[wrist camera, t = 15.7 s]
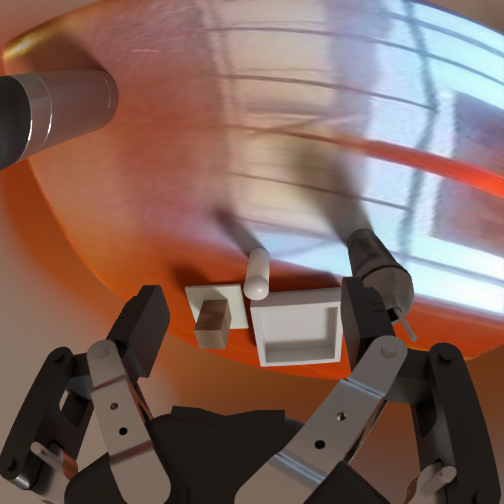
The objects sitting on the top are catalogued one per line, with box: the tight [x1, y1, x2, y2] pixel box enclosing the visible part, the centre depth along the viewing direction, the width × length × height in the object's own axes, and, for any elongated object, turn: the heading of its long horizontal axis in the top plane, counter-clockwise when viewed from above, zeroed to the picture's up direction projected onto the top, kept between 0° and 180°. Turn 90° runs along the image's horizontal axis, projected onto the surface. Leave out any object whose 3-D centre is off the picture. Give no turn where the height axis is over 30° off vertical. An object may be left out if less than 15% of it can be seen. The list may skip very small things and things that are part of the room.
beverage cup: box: [347, 229, 417, 341], centre depth 34 cm, size 7×7×20 cm
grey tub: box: [250, 287, 343, 366], centre depth 49 cm, size 14×14×4 cm
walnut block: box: [194, 300, 232, 349], centre depth 47 cm, size 4×4×7 cm
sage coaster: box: [185, 283, 249, 329], centre depth 50 cm, size 9×9×1 cm
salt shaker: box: [243, 248, 270, 300], centre depth 41 cm, size 3×3×8 cm
